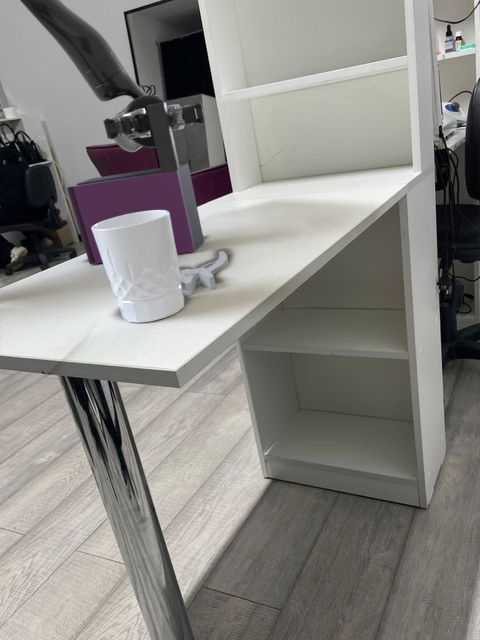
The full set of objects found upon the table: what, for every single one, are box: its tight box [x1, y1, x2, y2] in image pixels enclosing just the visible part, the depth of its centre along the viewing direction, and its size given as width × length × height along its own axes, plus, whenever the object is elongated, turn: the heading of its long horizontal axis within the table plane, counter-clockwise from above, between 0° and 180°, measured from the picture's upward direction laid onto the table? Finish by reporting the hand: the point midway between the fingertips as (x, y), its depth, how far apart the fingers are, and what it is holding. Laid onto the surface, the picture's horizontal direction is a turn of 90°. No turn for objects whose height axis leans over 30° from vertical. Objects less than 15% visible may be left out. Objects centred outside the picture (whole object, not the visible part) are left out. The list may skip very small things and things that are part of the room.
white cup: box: [91, 210, 185, 324], centre depth 56 cm, size 8×8×10 cm
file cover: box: [66, 101, 197, 265], centre depth 78 cm, size 17×1×20 cm, turn 81°
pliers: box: [180, 250, 229, 296], centre depth 69 cm, size 10×2×15 cm
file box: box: [76, 163, 205, 251], centre depth 83 cm, size 16×5×12 cm, turn 81°
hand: (160, 120), depth 73 cm, fingers open, 8 cm apart
